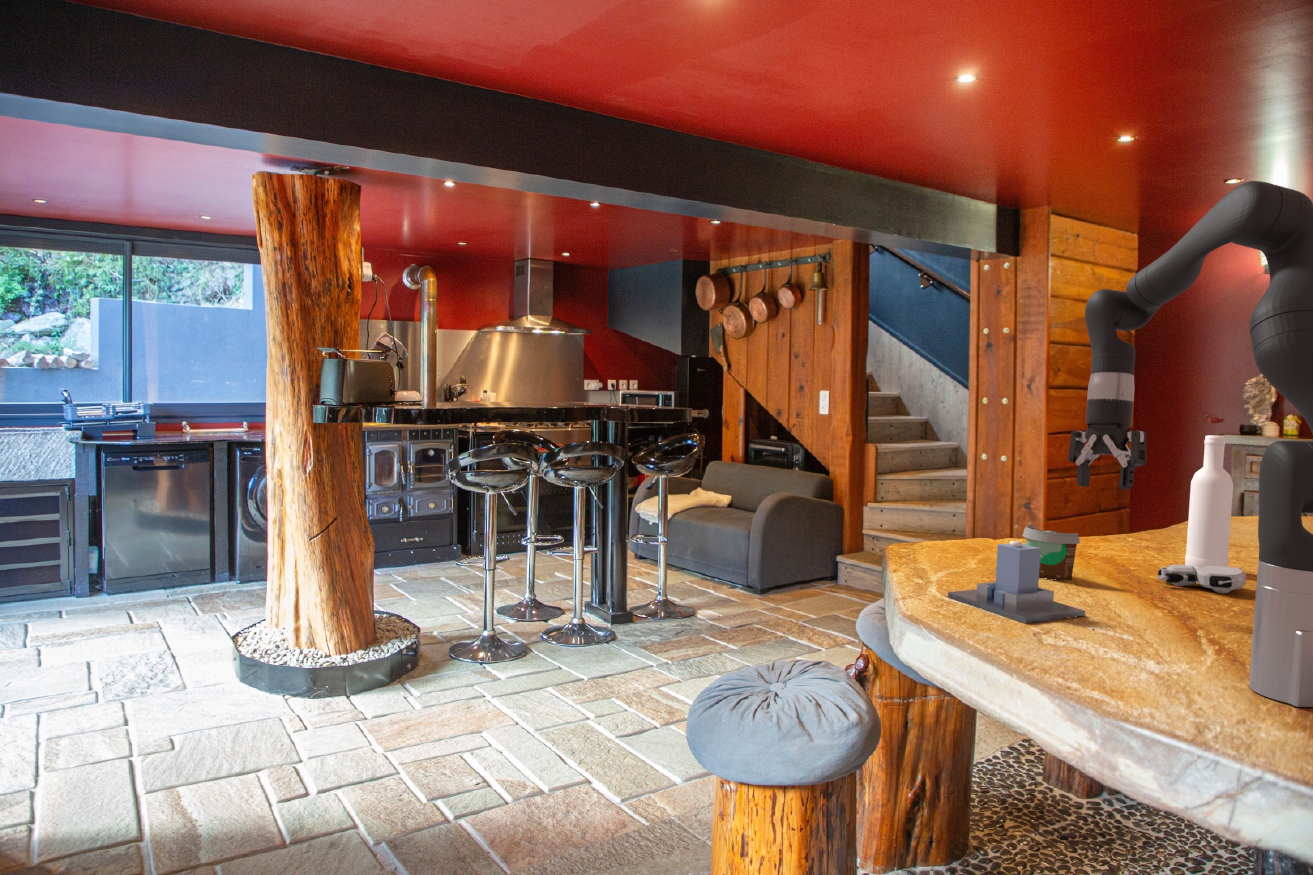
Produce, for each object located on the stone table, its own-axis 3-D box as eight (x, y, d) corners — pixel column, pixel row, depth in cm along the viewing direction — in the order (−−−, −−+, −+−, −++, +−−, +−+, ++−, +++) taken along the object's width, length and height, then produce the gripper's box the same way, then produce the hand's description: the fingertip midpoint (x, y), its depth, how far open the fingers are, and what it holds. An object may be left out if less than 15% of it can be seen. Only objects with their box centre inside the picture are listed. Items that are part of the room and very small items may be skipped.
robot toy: (1156, 592, 171) (1247, 599, 162) (1155, 570, 171) (1246, 575, 162) (1159, 581, 181) (1245, 587, 173) (1159, 560, 181) (1244, 564, 173)
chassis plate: (1084, 616, 147) (1086, 596, 147) (1025, 623, 142) (1026, 603, 141) (1003, 591, 164) (1004, 573, 163) (947, 597, 158) (948, 578, 158)
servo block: (1037, 603, 151) (1040, 543, 150) (1009, 606, 148) (1012, 545, 148) (1014, 596, 156) (1018, 538, 155) (987, 599, 153) (990, 540, 152)
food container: (1007, 571, 182) (1010, 525, 182) (1028, 569, 185) (1030, 523, 184) (1056, 584, 171) (1059, 535, 170) (1077, 582, 174) (1080, 533, 173)
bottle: (1176, 567, 190) (1185, 434, 188) (1202, 566, 193) (1212, 434, 191) (1208, 575, 183) (1218, 437, 181) (1236, 574, 185) (1246, 437, 183)
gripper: (1160, 400, 150) (1154, 492, 150) (1090, 402, 163) (1084, 487, 163) (1131, 395, 147) (1124, 488, 147) (1062, 398, 160) (1056, 484, 160)
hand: (1103, 487), depth 155 cm, fingers open, 8 cm apart
